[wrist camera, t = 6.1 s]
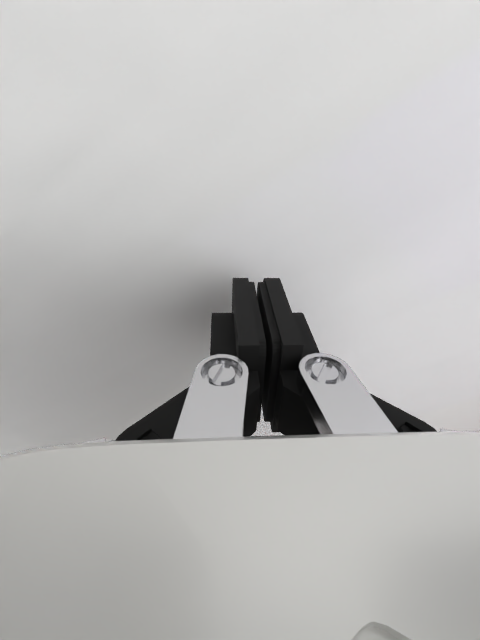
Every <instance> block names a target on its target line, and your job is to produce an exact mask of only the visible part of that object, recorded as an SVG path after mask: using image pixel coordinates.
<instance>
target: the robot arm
mask: <svg viewBox="0 0 480 640" xmlns="http://www.w3.org/2000/svg"><path fill="white" fill-rule="evenodd" d="M261 404H262V409H263V416H264V421H265V422H270V423H271V429H272V432H281V433H282V434H284V435H282V436H251V435H252V434H253V433H254V432H255V431H256V427H257V422H260V415H261ZM0 640H480V431H453V430H447V429H440V431H439V432H437V431H436V430H435V429H434V428H433V427H431V426H430V425H428V424H427V423H425V422H423V421H422V420H420V419H418V418H416V417H414V416H412V415H410V414H408V413H406V412H404V411H402V410H401V409H399V408H397V407H395V406H393V405H391V404H389V403H387V402H385V401H383V400H381V399H380V398H378V397H376V396H374V395H372V394H370V393H369V392H368V391H367V389H366V388H365V387H364V385H363V384H362V383H361V381H360V380H359V379H358V377H357V376H356V375H355V373H354V372H353V370H352V369H351V368H350V366H349V365H348V364H347V363H346V362H345V361H343V360H341V359H340V358H338V357H336V356H333V355H330V354H325V353H319V350H318V348H317V345H316V343H315V341H314V338H313V336H312V333H311V331H310V329H309V326H308V324H307V321H306V319H305V317H304V315H303V313H292V311H291V308H290V305H289V303H288V300H287V297H286V295H285V292H284V289H283V286H282V284H281V281H280V279H279V278H264V280H263V282H258V287H257V295H256V290H255V285H254V282H249V281H248V278H233V288H232V313H212V323H211V349H210V356H209V357H207V358H205V359H203V360H202V361H201V362H199V363H198V365H197V367H196V368H195V371H194V374H193V378H192V381H191V384H190V386H189V387H188V388H186V389H185V390H184V391H182V392H181V393H179V394H178V395H176V396H175V397H173V398H172V399H170V400H169V401H167V402H166V403H164V404H163V405H161V406H160V407H158V408H157V409H155V410H154V411H153V412H151V413H150V414H148V415H147V416H145V417H144V418H142V419H141V420H139V421H138V422H136V423H135V424H133V425H132V426H130V427H129V428H127V429H126V430H125V431H124V432H123V433H121V434H120V435H119V436H118V437H117V439H116V440H113V441H108V442H106V438H101V439H96V440H92V441H87V442H82V443H78V444H66V445H55V446H48V447H42V448H35V449H29V450H24V451H20V452H15V453H11V454H7V455H2V456H0Z"/></svg>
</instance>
